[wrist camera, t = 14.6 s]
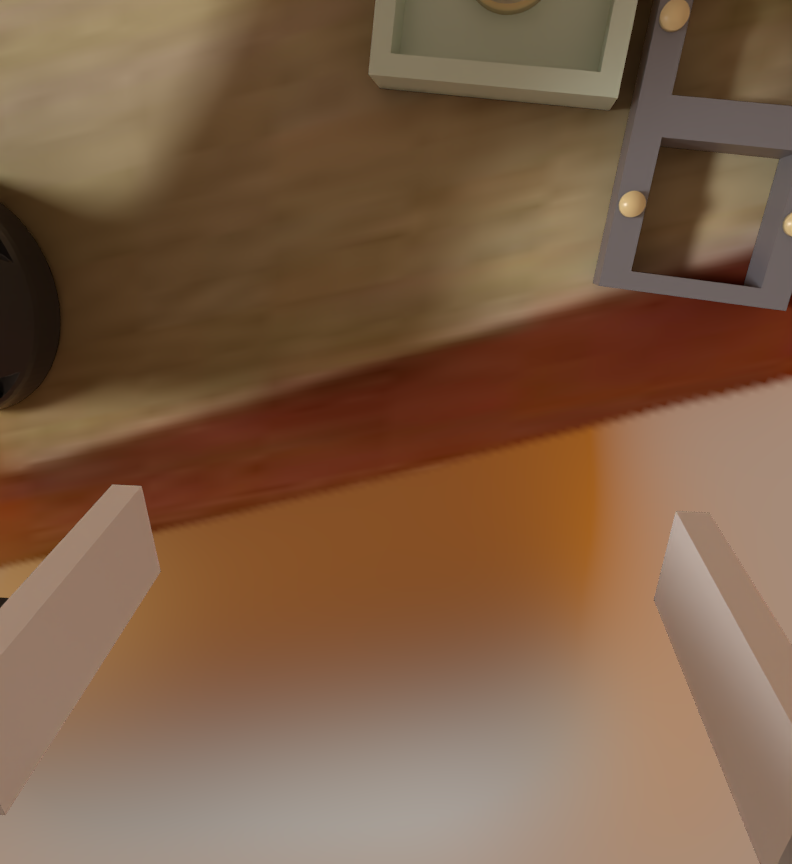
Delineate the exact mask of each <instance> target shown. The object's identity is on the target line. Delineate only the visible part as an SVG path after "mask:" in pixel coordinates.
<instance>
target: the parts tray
mask: <svg viewBox="0 0 792 864" xmlns="http://www.w3.org/2000/svg"><path fill="white" fill-rule="evenodd" d="M637 3H638V0H541V1H540V2H539V3H537V4H536V5H535V6H533V7H532V8H530V9H529V10H526V11H524V12H522V13H518V14H513V15H501V14H496V13H493V12H491V11H489V10H487V9H485V8H484V7H483V6H481V5H480V4H479V3H478V2H477V1H476V0H375V11H374V21H373V31H372V41H371V52H370V62H369V72H368V75H369V76H370V77H371V78H372V79H373V81H374V82H375V83H376V84H377V86H378V87H379V88H382V89H392V90H402V91H413V92H423V93H433V94H443V95H454V96H464V97H474V98H485V99H495V100H505V101H515V102H526V103H536V104H546V105H557V106H567V107H577V108H587V109H598V110H608V111H609V110H610V109H611V107H612V106H613V104H614V103H615V101H616V100H617V98H618V94H619V90H620V85H621V80H622V75H623V70H624V65H625V61H626V56H627V51H628V46H629V41H630V36H631V32H632V27H633V22H634V17H635V12H636V7H637Z"/></svg>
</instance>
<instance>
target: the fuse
mask: <svg viewBox="0 0 792 864" xmlns="http://www.w3.org/2000/svg"><path fill="white" fill-rule="evenodd" d="M476 1H477V2H478V3H479V4H480V5H481V6H483V7H484V8H485V9H487V10H489V11H491V12H493V13H496V14H501V15H513V14H518V13H522V12H524V11H526V10H529V9H530V8H532V7H533V6H535V5H536V4H537V3H539V2H540V1H541V0H476Z"/></svg>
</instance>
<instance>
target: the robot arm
mask: <svg viewBox="0 0 792 864" xmlns="http://www.w3.org/2000/svg"><path fill="white" fill-rule="evenodd" d="M59 333H60V311H59V302H58V296H57V292H56V288H55V284H54V280H53V277H52V274H51V272H50V269H49V267H48V264H47V262H46V260H45V258H44V256H43V254H42V252H41V250H40V248H39V246H38V245H37V243H36V242H35V240H34V238H33V237H32V236H31V234H30V233H29V231H28V230H27V229H26V228H25V226H24V225H23V224H22V223H21V222H20V220H19V219H18V218H17V217H16V216H15V215H14V214H13V213H12V212H11V211H10V210H9V209H7V208H6V207H5V206H4V205H3V204H1V203H0V409H3V408H6V407H9V406H11V405H14V404H16V403H18V402H20V401H21V400H23V399H24V398H26V397H27V396H28V395H30V394H31V393H32V392H33V391H34V390H35V389H36V388H37V387H38V386H39V385H40V384H41V382H42V381H43V379H44V378H45V376H46V375H47V373H48V371H49V369H50V367H51V365H52V363H53V360H54V357H55V354H56V351H57V346H58V341H59ZM159 573H160V566H159V562H158V558H157V553H156V549H155V544H154V540H153V535H152V531H151V526H150V522H149V517H148V513H147V508H146V504H145V500H144V495H143V491H142V486H130V485H112V486H111V487H110V488H109V489H108V490H107V491H106V492H105V493H104V494H103V496H102V497H101V498H100V499H99V500H98V501H97V502H96V503H95V504H94V505H93V507H92V508H91V509H90V510H89V511H88V512H87V513H86V514H85V515H84V516H83V518H82V519H81V520H80V521H79V522H78V523H77V524H76V525H75V526H74V527H73V528H72V530H71V531H70V532H69V533H68V534H67V535H66V536H65V537H64V538H63V539H62V541H61V542H60V543H59V544H58V545H57V546H56V547H55V548H54V549H53V550H52V552H51V553H50V554H49V555H48V556H47V557H46V558H45V559H44V560H43V561H42V563H41V564H40V565H39V566H38V567H37V568H36V569H35V570H34V571H33V572H32V574H31V575H30V576H29V577H28V578H27V579H26V580H25V581H24V582H23V583H22V585H21V586H20V587H19V588H18V589H17V590H16V591H15V592H14V593H13V594H12V596H11V597H10V598H0V814H1V815H6V814H7V812H8V810H9V809H10V807H11V805H12V804H13V803H14V801H15V799H16V798H17V796H18V795H19V793H20V791H21V790H22V788H23V787H24V785H25V784H26V782H27V781H28V779H29V777H30V776H31V774H32V773H33V771H34V770H35V768H36V766H37V765H38V763H39V762H40V760H41V759H42V757H43V755H44V754H45V752H46V751H47V749H48V748H49V746H50V744H51V743H52V741H53V740H54V738H55V736H56V735H57V733H58V732H59V730H60V728H61V727H62V726H63V724H64V722H65V721H66V719H67V717H68V716H69V714H70V713H71V711H72V710H73V708H74V707H75V705H76V703H77V702H78V700H79V699H80V697H81V696H82V694H83V693H84V691H85V689H86V688H87V686H88V685H89V683H90V681H91V680H92V678H93V677H94V675H95V674H96V672H97V671H98V669H99V667H100V666H101V664H102V662H103V661H104V659H105V658H106V656H107V655H108V653H109V652H110V650H111V648H112V647H113V645H114V644H115V642H116V641H117V639H118V638H119V636H120V634H121V633H122V631H123V630H124V628H125V626H126V625H127V623H128V622H129V620H130V619H131V617H132V616H133V614H134V612H135V611H136V609H137V608H138V606H139V605H140V603H141V601H142V600H143V598H144V597H145V595H146V594H147V592H148V590H149V589H150V587H151V586H152V584H153V582H154V581H155V579H156V578H157V576H158V574H159ZM654 601H655V604H656V606H657V609H658V611H659V614H660V616H661V619H662V621H663V624H664V626H665V629H666V631H667V634H668V636H669V639H670V641H671V644H672V646H673V649H674V651H675V654H676V656H677V659H678V661H679V664H680V666H681V669H682V671H683V674H684V676H685V679H686V681H687V684H688V686H689V689H690V691H691V694H692V696H693V699H694V701H695V704H696V706H697V709H698V711H699V713H700V716H701V719H702V721H703V724H704V726H705V729H706V731H707V734H708V736H709V738H710V741H711V743H712V746H713V748H714V751H715V753H716V756H717V758H718V761H719V763H720V766H721V768H722V771H723V773H724V776H725V778H726V781H727V783H728V786H729V788H730V791H731V793H732V796H733V798H734V801H735V803H736V805H737V808H738V811H739V813H740V816H741V818H742V821H743V823H744V826H745V828H746V831H747V833H748V836H749V838H750V841H751V843H752V845H753V848H754V850H755V853H756V855H757V858H758V860H759V863H760V864H792V644H791V643H790V641H789V639H788V638H787V636H786V635H785V633H784V631H783V630H782V628H781V627H780V625H779V623H778V622H777V620H776V619H775V617H774V615H773V614H772V612H771V611H770V609H769V608H768V606H767V604H766V603H765V601H764V599H763V598H762V596H761V594H760V593H759V591H758V590H757V588H756V586H755V585H754V583H753V582H752V580H751V579H750V577H749V575H748V574H747V572H746V571H745V569H744V567H743V566H742V564H741V562H740V561H739V559H738V558H737V556H736V555H735V553H734V551H733V550H732V548H731V546H730V545H729V543H728V542H727V540H726V539H725V537H724V535H723V534H722V532H721V530H720V529H719V527H718V526H717V524H716V522H715V521H714V519H713V518H712V516H711V514H710V513H706V512H684V511H676V513H675V517H674V521H673V525H672V529H671V533H670V537H669V541H668V545H667V549H666V553H665V557H664V561H663V565H662V569H661V573H660V577H659V581H658V585H657V589H656V593H655V597H654Z"/></svg>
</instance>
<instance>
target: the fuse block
mask: <svg viewBox="0 0 792 864" xmlns="http://www.w3.org/2000/svg"><path fill="white" fill-rule="evenodd" d="M692 4H693V0H653V4H652V8H651V13H650V18H649V22H648V27H647V32H646V36H645V41H644V46H643V51H642V55H641V60H640V65H639V69H638V74H637V79H636V83H635V88H634V93H633V97H632V102H631V107H630V111H629V116H628V121H627V126H626V130H625V135H624V140H623V144H622V149H621V154H620V158H619V163H618V168H617V172H616V177H615V182H614V186H613V191H612V196H611V200H610V205H609V210H608V215H607V219H606V224H605V229H604V233H603V238H602V243H601V247H600V252H599V257H598V261H597V266H596V271H595V275H594V280H593V283H594V284H596V285H598V286H605V287H612V288H620V289H627V290H634V291H642V292H649V293H657V294H664V295H672V296H679V297H686V298H694V299H701V300H709V301H716V302H724V303H731V304H738V305H746V306H753V307H761V308H768V309H775V310H783V311H786V309H787V306H788V303H789V299H790V296H791V293H792V106H786V105H775V104H764V103H754V102H743V101H732V100H721V99H711V98H700V97H689V96H678V95H672V91H673V87H674V83H675V78H676V74H677V70H678V65H679V61H680V57H681V52H682V48H683V44H684V39H685V35H686V31H687V26H688V22H689V18H690V13H691V9H692ZM660 146H661V147H671V148H680V149H690V150H700V151H709V152H719V153H728V154H738V155H748V156H757V157H767V158H777V159H779V163H778V166H777V170H776V173H775V177H774V180H773V184H772V187H771V191H770V194H769V198H768V201H767V205H766V208H765V212H764V215H763V219H762V222H761V226H760V229H759V233H758V236H757V240H756V243H755V247H754V250H753V254H752V257H751V261H750V264H749V268H748V272H747V275H746V279H745V282H744V286H743V285H735V284H728V283H720V282H712V281H705V280H697V279H689V278H682V277H674V276H666V275H659V274H651V273H643V272H636V271H631V269H632V265H633V261H634V256H635V252H636V248H637V243H638V239H639V235H640V230H641V226H642V222H643V217H644V213H645V209H646V204H647V200H648V196H649V191H650V187H651V183H652V178H653V174H654V170H655V165H656V161H657V157H658V152H659V148H660Z"/></svg>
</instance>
